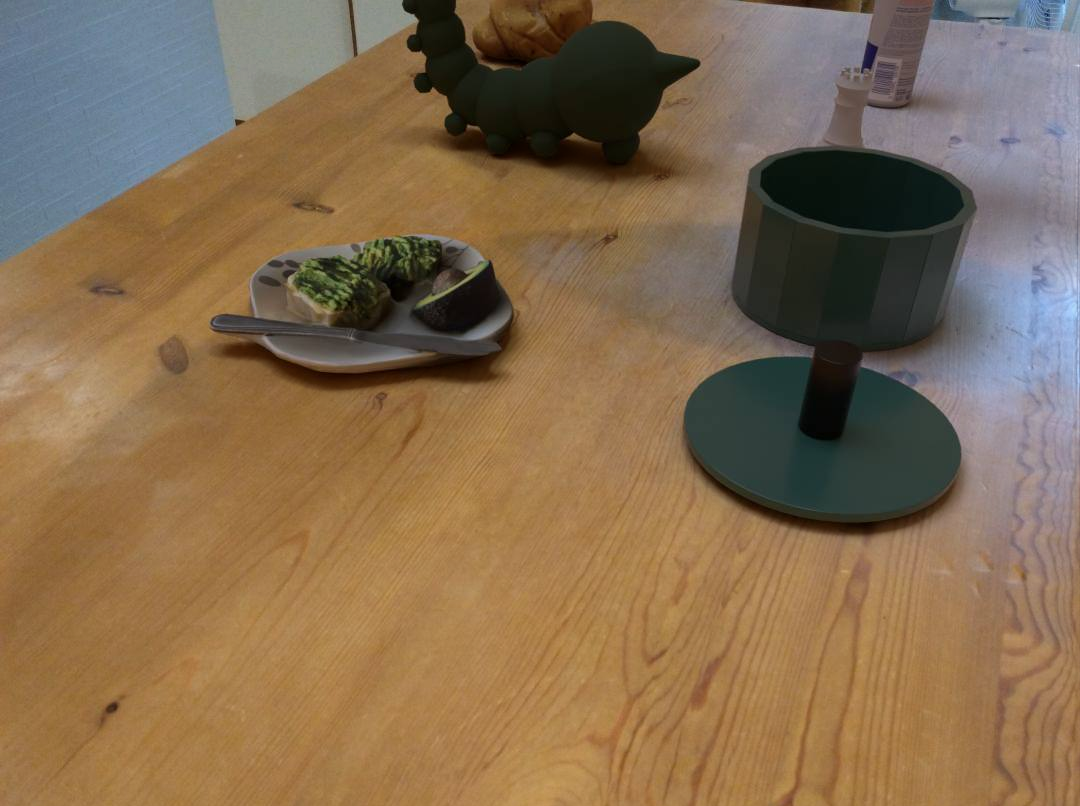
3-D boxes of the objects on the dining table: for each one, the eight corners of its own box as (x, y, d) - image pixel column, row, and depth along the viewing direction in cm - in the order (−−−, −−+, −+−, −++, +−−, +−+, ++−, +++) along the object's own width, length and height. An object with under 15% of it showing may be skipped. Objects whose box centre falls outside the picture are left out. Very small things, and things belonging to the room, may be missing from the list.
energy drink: (876, 86, 110) (905, -43, 102) (920, 101, 107) (953, -31, 99) (844, 97, 107) (871, -35, 99) (888, 112, 104) (919, -23, 96)
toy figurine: (409, 170, 94) (686, 185, 88) (375, -72, 82) (692, -76, 76) (448, 134, 101) (707, 145, 94) (421, -94, 89) (716, -100, 82)
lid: (814, 348, 70) (834, 260, 66) (1013, 469, 60) (1051, 375, 56) (627, 420, 63) (636, 327, 59) (818, 570, 53) (845, 472, 49)
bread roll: (465, 66, 112) (463, -18, 106) (483, 39, 119) (482, -41, 114) (586, 75, 110) (590, -9, 105) (597, 47, 118) (601, -33, 112)
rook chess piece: (805, 170, 92) (824, 74, 87) (818, 152, 95) (836, 59, 90) (856, 179, 91) (878, 83, 86) (867, 162, 94) (889, 68, 89)
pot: (832, 235, 83) (854, 132, 77) (985, 314, 74) (1023, 203, 68) (689, 281, 76) (703, 172, 71) (838, 374, 67) (867, 257, 62)
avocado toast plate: (225, 418, 62) (211, 349, 59) (203, 279, 75) (190, 216, 72) (540, 371, 67) (542, 305, 64) (469, 248, 79) (468, 188, 76)
